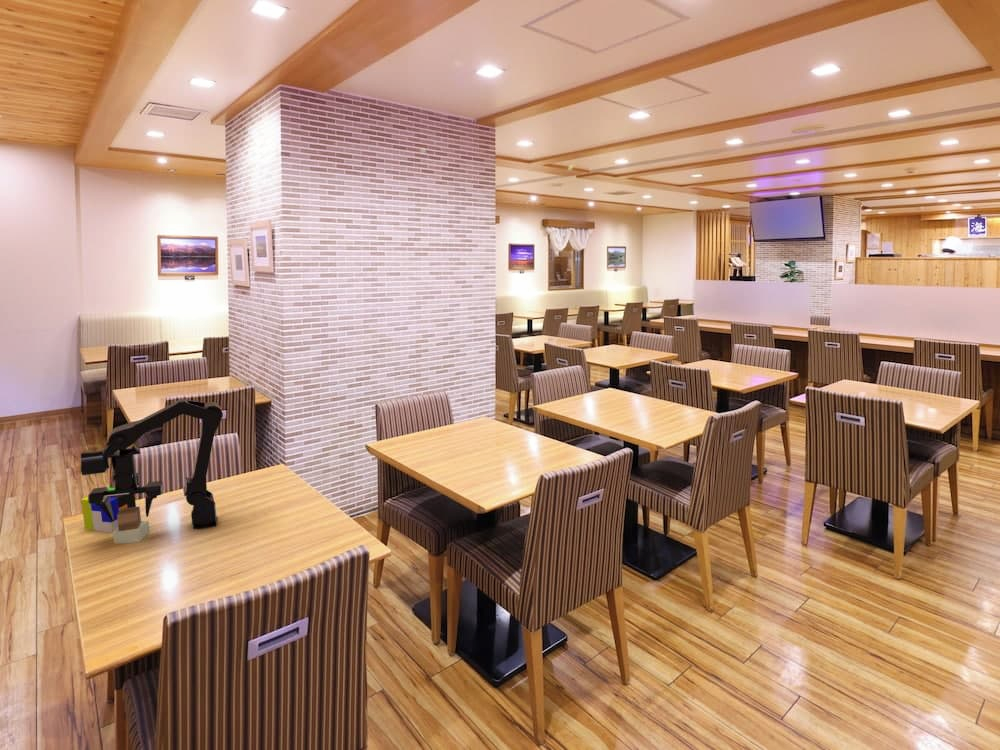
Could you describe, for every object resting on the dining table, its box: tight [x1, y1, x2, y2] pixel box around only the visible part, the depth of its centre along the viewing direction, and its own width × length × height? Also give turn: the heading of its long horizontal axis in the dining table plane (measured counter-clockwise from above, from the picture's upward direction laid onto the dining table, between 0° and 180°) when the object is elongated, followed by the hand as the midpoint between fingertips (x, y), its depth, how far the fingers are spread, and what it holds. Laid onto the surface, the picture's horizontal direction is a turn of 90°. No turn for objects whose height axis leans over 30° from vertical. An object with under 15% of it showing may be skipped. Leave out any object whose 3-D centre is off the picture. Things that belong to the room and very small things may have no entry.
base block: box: [112, 520, 151, 544], centre depth 185 cm, size 7×7×4 cm
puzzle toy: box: [80, 487, 137, 533], centre depth 193 cm, size 10×10×10 cm
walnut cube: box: [117, 506, 142, 531], centre depth 184 cm, size 5×5×5 cm
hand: (130, 518), depth 184 cm, fingers open, 9 cm apart
